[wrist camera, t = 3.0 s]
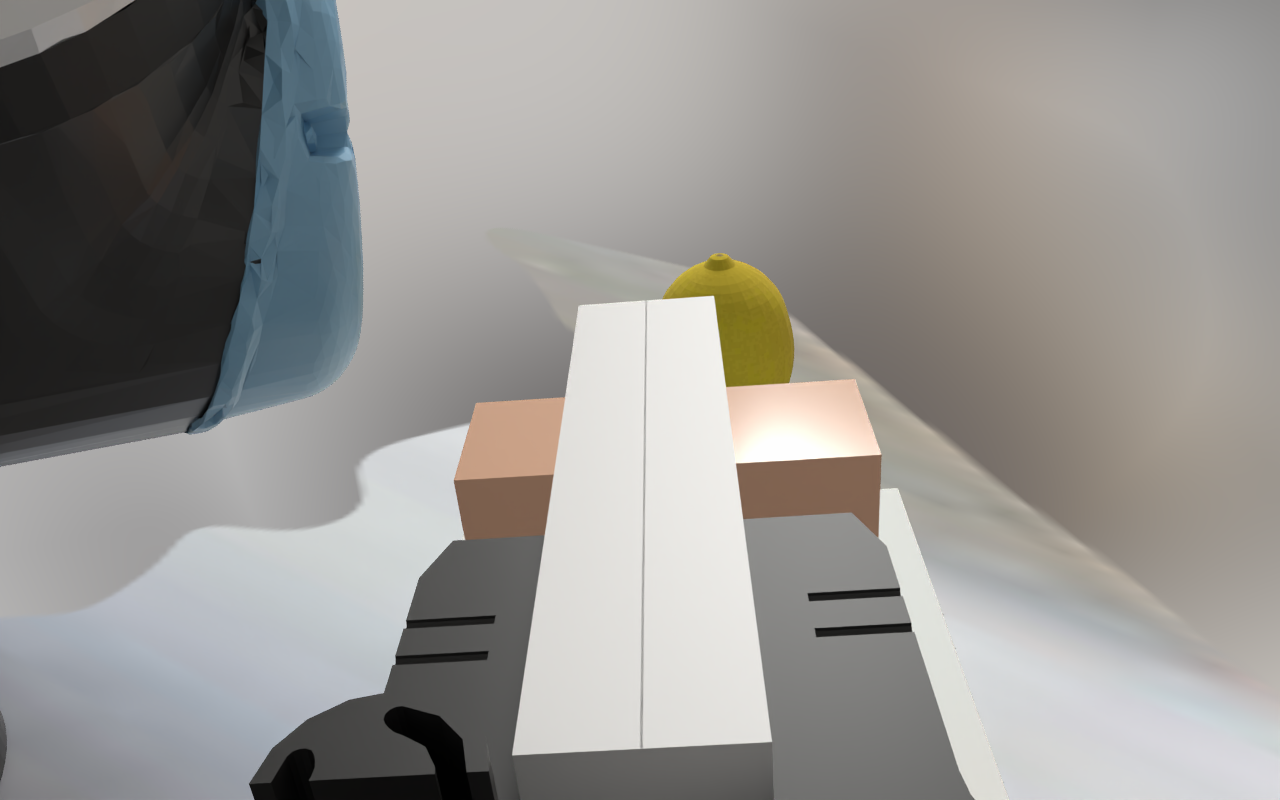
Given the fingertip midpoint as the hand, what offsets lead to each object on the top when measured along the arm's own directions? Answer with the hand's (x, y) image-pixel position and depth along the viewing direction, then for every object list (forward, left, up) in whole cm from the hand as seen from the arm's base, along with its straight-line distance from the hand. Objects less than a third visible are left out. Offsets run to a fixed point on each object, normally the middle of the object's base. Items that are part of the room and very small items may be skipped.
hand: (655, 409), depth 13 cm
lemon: (+2, +28, -17) cm, 33 cm away
